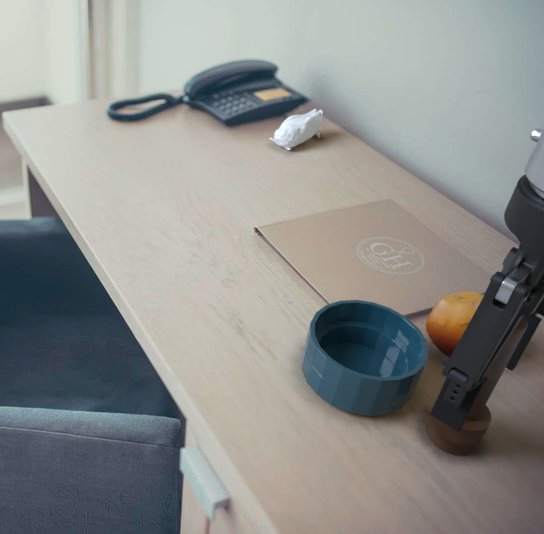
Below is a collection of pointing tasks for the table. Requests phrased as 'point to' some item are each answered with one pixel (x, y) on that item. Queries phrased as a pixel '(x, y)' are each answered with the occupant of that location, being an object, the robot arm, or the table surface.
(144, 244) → the table surface
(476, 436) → the muddler
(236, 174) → the table surface
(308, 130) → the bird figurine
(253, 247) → the table surface
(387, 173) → the table surface
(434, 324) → the fruit
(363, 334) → the bowl
